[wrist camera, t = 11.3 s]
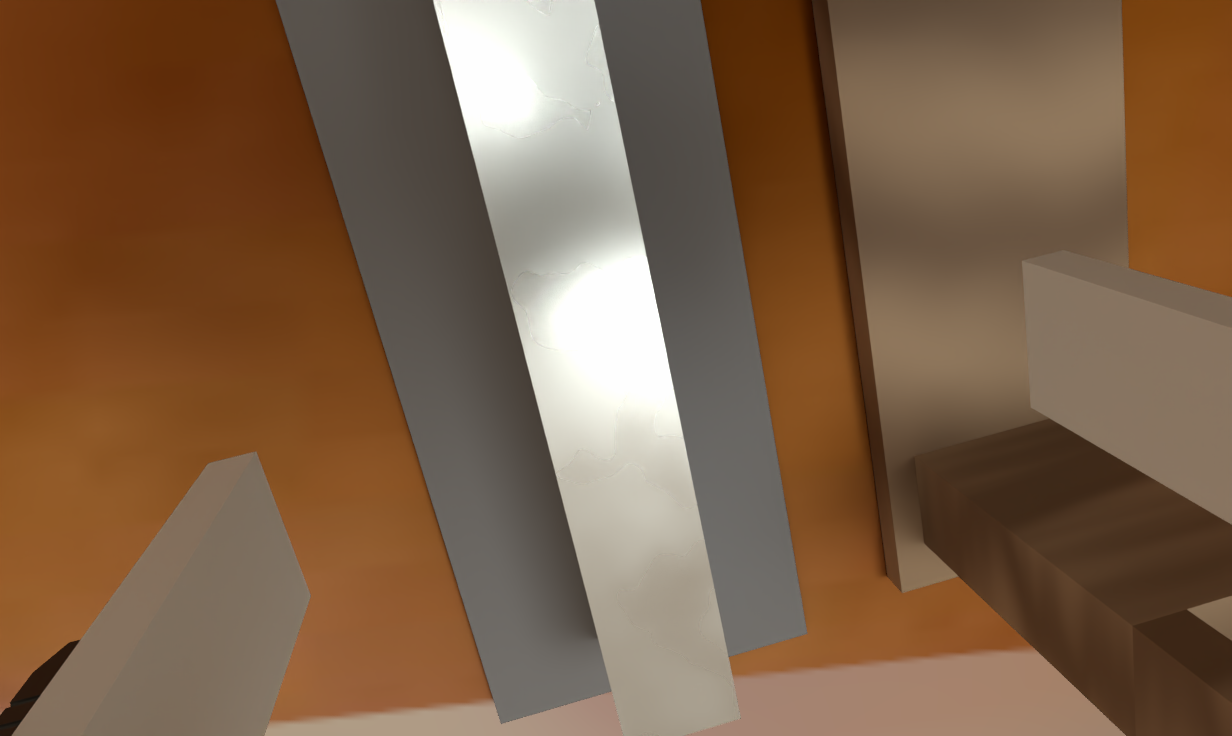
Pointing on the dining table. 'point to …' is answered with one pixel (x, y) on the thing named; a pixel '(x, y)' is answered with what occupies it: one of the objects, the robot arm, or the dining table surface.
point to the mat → (490, 341)
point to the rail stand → (1010, 343)
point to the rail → (594, 348)
